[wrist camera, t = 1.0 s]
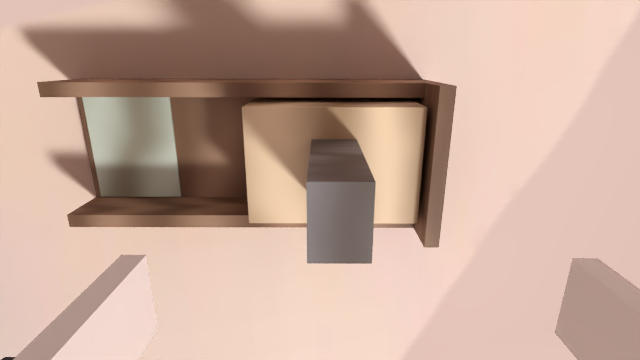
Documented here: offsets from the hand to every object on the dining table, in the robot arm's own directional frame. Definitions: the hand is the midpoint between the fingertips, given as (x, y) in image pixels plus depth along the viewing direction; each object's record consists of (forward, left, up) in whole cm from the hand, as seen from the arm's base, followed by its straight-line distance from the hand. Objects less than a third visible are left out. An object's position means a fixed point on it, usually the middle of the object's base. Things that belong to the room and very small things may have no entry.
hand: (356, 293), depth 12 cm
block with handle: (0, 0, -20) cm, 20 cm away
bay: (-7, 0, -21) cm, 22 cm away
